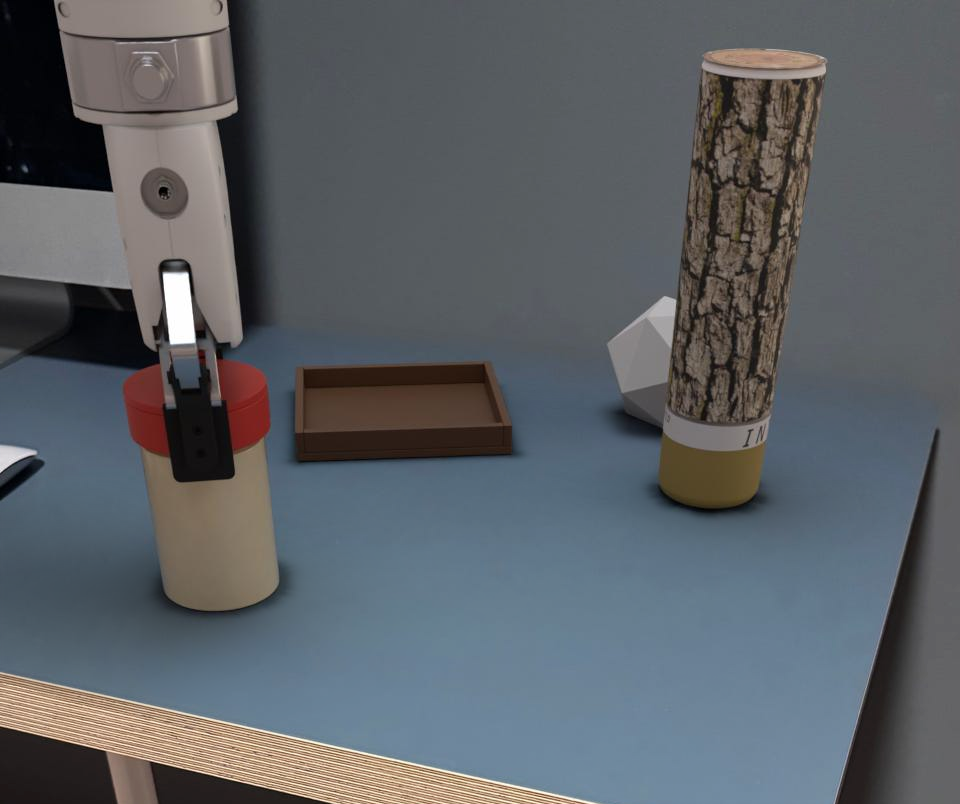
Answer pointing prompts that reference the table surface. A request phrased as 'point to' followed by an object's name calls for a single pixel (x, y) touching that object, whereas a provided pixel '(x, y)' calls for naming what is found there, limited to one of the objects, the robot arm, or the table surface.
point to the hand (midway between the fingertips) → (203, 445)
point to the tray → (399, 411)
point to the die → (645, 361)
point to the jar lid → (236, 387)
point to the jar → (214, 532)
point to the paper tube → (737, 268)
